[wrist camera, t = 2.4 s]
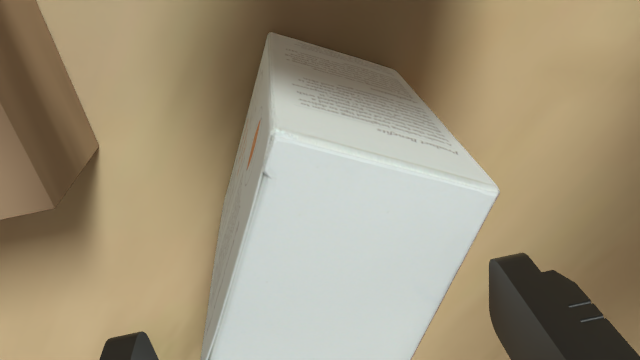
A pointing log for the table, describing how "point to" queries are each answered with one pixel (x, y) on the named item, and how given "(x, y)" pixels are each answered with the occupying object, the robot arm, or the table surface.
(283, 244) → the small box
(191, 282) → the table surface
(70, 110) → the walnut block
